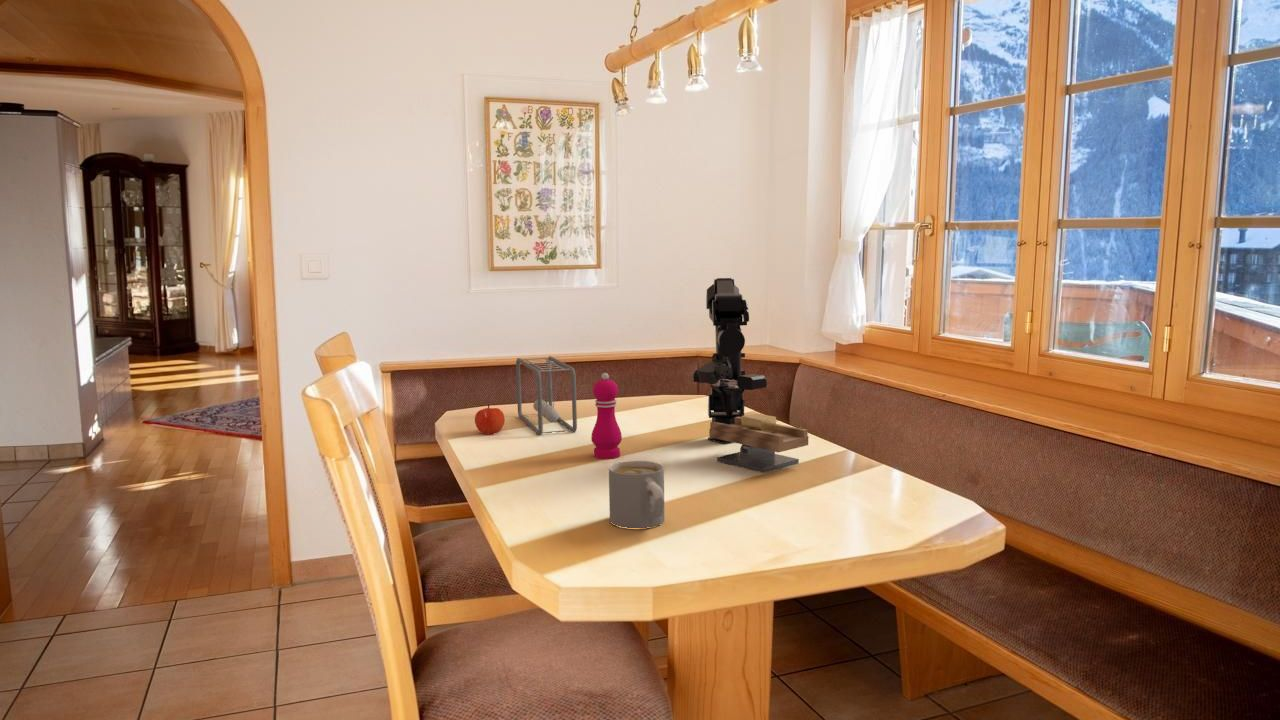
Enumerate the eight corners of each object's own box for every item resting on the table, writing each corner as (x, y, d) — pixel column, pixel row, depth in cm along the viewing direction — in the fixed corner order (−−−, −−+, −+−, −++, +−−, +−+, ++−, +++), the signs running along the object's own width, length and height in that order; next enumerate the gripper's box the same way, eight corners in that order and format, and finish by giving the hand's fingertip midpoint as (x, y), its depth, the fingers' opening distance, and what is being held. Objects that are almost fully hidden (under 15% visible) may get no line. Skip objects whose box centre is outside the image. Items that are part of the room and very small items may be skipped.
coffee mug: (603, 516, 161) (602, 463, 159) (653, 510, 164) (653, 458, 162) (625, 538, 148) (624, 481, 147) (679, 531, 151) (678, 476, 150)
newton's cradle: (577, 433, 232) (575, 368, 229) (539, 437, 228) (536, 370, 226) (552, 413, 260) (550, 355, 257) (517, 416, 257) (515, 357, 254)
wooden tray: (709, 437, 202) (709, 421, 202) (738, 430, 208) (738, 415, 208) (778, 452, 186) (778, 435, 186) (808, 445, 193) (808, 428, 192)
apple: (500, 436, 229) (498, 407, 228) (470, 436, 230) (469, 406, 229) (509, 430, 237) (508, 401, 236) (481, 429, 238) (479, 401, 237)
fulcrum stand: (717, 461, 199) (717, 440, 199) (752, 452, 207) (752, 432, 206) (763, 472, 189) (763, 450, 188) (798, 463, 196) (798, 441, 196)
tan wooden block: (741, 431, 197) (741, 416, 197) (756, 428, 201) (756, 413, 200) (761, 435, 193) (761, 420, 192) (775, 432, 196) (776, 416, 196)
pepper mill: (586, 457, 205) (584, 374, 202) (601, 451, 211) (599, 370, 209) (612, 460, 202) (610, 375, 199) (627, 454, 208) (625, 371, 205)
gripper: (676, 348, 203) (676, 414, 205) (734, 355, 189) (734, 425, 191) (709, 344, 210) (710, 408, 212) (768, 351, 196) (768, 418, 198)
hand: (729, 415), depth 203 cm, fingers closed
